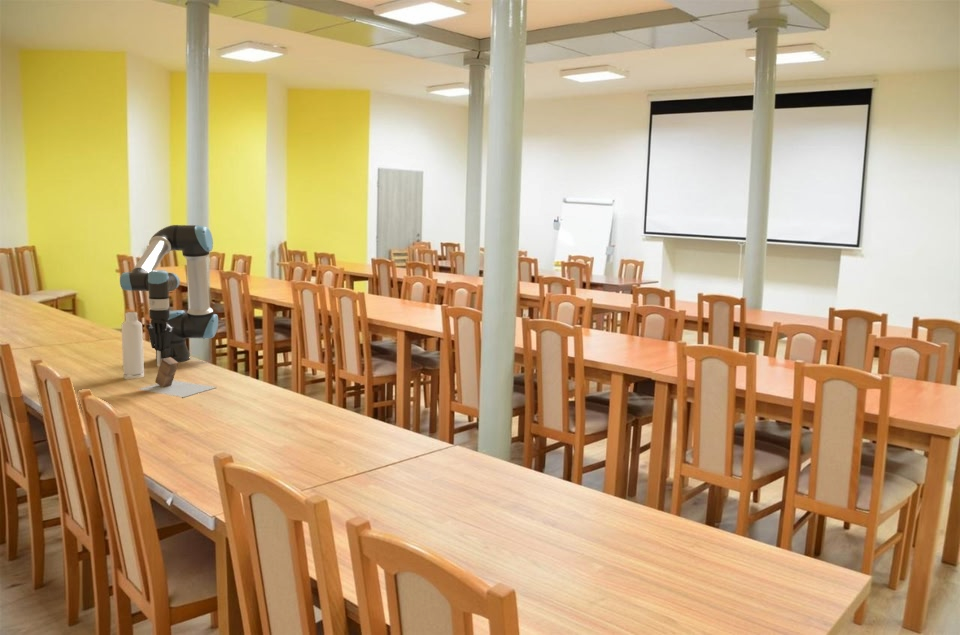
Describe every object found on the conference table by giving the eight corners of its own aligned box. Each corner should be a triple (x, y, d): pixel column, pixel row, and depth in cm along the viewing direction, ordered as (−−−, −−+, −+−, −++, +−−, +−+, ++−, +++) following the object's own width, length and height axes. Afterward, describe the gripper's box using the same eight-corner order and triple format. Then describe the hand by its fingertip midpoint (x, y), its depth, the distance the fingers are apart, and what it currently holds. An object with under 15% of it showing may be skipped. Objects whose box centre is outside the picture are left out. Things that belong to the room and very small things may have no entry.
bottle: (138, 379, 320) (136, 314, 316) (120, 379, 320) (117, 314, 316) (147, 375, 328) (145, 311, 324) (129, 374, 328) (126, 311, 324)
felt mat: (172, 380, 320) (172, 380, 320) (216, 388, 310) (216, 387, 310) (137, 390, 304) (137, 389, 303) (182, 398, 294) (182, 397, 294)
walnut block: (163, 379, 312) (170, 357, 309) (171, 385, 311) (178, 362, 308) (155, 382, 308) (162, 359, 305) (162, 387, 307) (169, 364, 304)
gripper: (140, 308, 304) (142, 365, 308) (163, 311, 299) (165, 369, 303) (155, 306, 311) (156, 362, 315) (178, 309, 306) (180, 366, 309)
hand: (161, 365), depth 309 cm, fingers closed
